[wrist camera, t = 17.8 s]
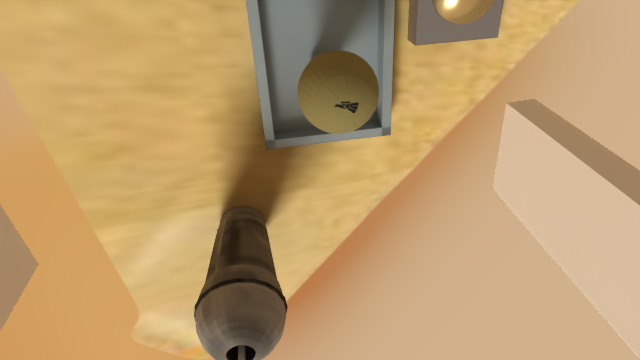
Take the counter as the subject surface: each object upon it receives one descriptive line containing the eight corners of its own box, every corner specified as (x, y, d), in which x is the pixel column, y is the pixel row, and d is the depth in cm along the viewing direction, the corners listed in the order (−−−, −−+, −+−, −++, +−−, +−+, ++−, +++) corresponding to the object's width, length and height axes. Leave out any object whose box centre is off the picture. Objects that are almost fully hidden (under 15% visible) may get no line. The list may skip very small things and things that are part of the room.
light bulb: (350, 22, 34) (385, 55, 25) (358, 88, 37) (392, 138, 28) (282, 36, 34) (294, 74, 25) (295, 102, 37) (310, 155, 28)
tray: (244, -20, 32) (243, -15, 30) (386, -31, 33) (396, -28, 31) (265, 136, 39) (266, 149, 37) (382, 123, 40) (390, 134, 38)
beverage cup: (277, 192, 42) (298, 374, 25) (279, 249, 46) (298, 441, 29) (201, 197, 41) (170, 390, 24) (210, 255, 45) (188, 456, 28)
